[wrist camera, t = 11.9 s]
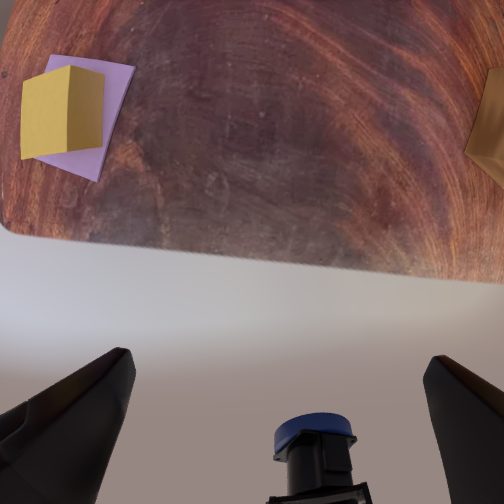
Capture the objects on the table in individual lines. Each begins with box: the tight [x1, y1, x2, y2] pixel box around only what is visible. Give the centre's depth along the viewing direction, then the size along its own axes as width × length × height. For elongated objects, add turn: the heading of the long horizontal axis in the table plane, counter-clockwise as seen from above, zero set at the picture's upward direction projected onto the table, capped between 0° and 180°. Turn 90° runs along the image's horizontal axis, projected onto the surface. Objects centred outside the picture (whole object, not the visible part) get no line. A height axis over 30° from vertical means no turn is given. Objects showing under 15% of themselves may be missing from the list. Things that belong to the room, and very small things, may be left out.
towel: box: [34, 54, 136, 182], centre depth 16 cm, size 8×8×1 cm
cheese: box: [21, 65, 105, 160], centre depth 14 cm, size 5×4×4 cm
